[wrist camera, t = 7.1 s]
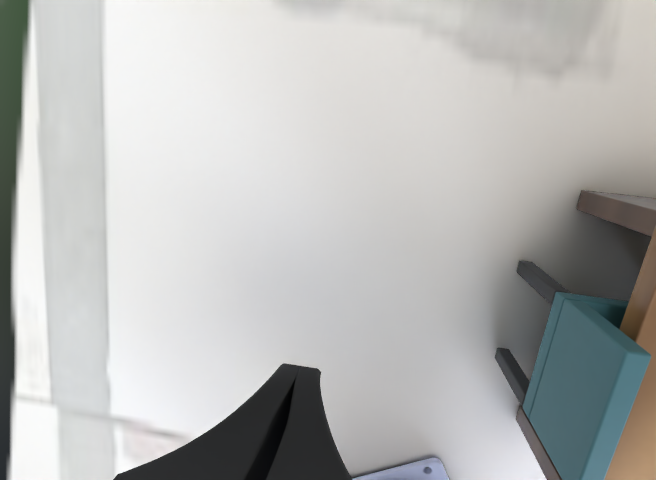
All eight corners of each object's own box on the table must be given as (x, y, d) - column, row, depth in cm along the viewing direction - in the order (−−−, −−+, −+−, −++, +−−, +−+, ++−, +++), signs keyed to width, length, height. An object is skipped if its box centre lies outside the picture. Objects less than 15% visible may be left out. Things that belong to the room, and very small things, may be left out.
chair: (494, 357, 22) (572, 500, 14) (518, 259, 21) (626, 351, 12) (630, 377, 22) (802, 540, 13) (667, 278, 20) (892, 389, 11)
